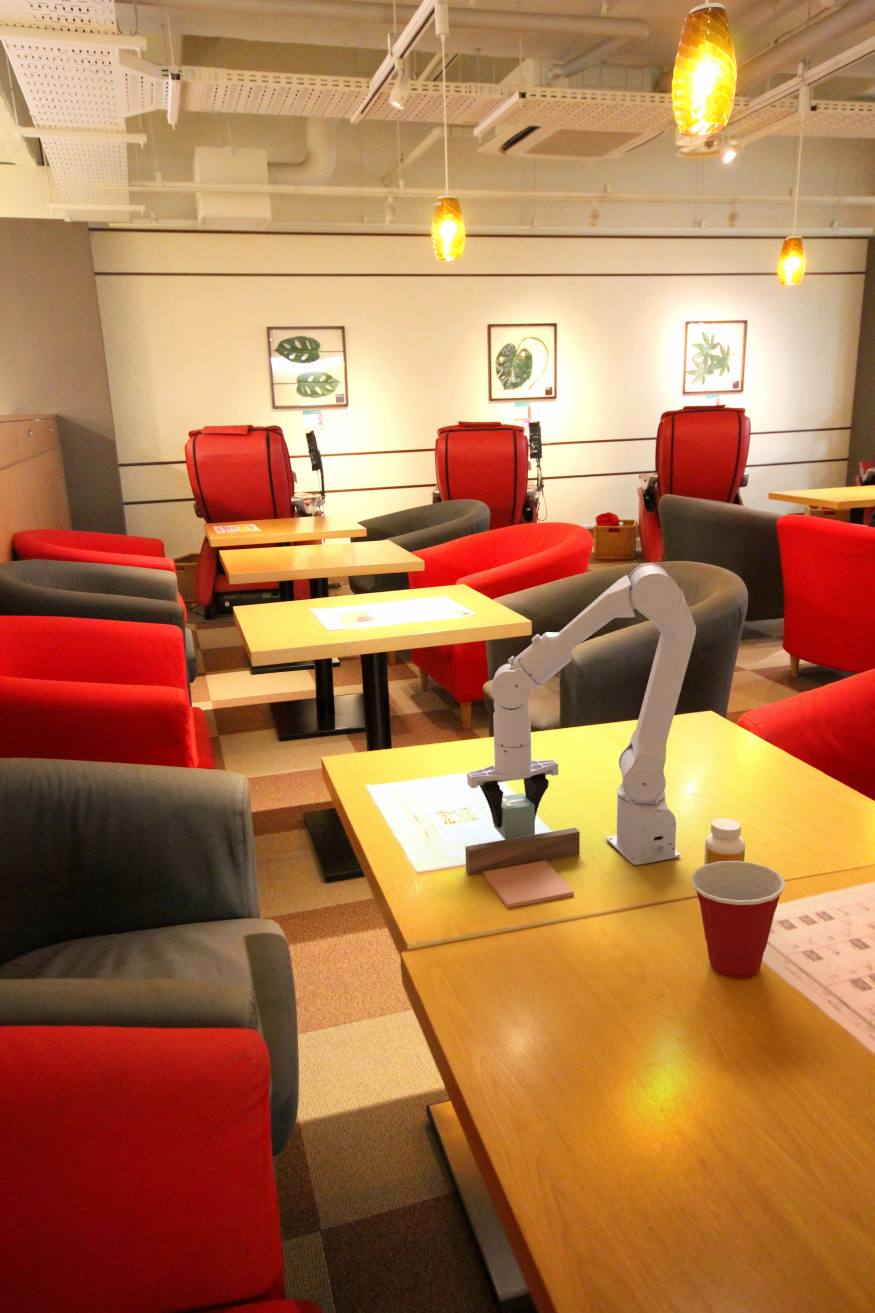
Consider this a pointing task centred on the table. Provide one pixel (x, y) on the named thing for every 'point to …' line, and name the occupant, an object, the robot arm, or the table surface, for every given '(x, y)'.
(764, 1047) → the table surface
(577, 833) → the walnut plank
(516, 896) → the terracotta tile
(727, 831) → the supplement bottle
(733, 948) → the plastic cup
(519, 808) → the lettered cube
